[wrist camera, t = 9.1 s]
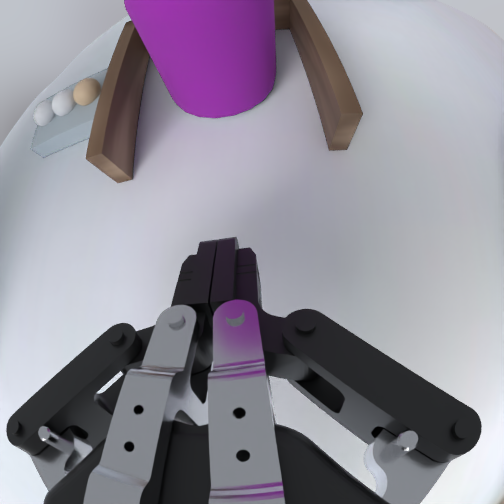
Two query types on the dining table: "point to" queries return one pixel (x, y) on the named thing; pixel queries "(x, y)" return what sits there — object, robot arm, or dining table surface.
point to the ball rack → (67, 115)
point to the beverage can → (210, 51)
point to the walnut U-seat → (134, 70)
